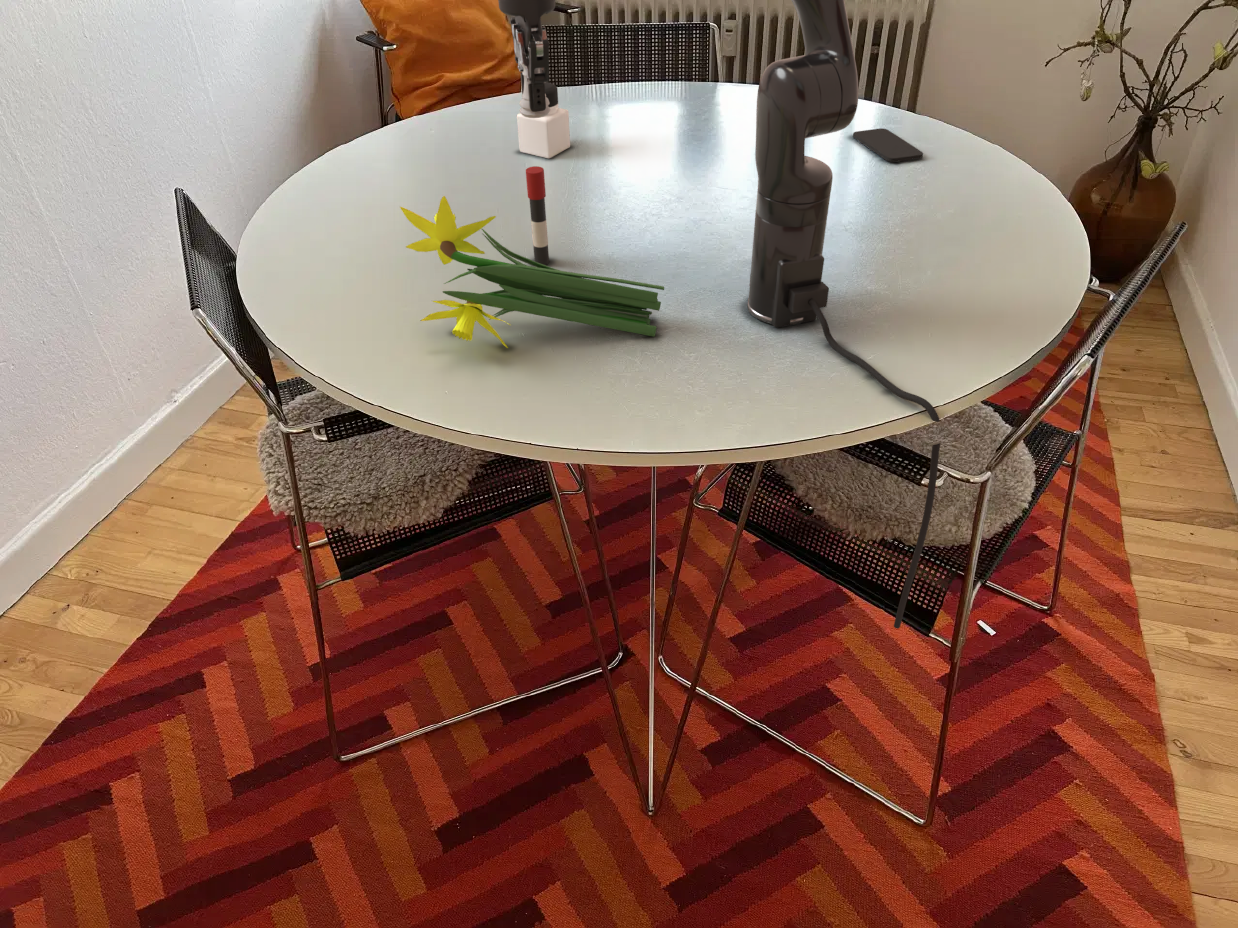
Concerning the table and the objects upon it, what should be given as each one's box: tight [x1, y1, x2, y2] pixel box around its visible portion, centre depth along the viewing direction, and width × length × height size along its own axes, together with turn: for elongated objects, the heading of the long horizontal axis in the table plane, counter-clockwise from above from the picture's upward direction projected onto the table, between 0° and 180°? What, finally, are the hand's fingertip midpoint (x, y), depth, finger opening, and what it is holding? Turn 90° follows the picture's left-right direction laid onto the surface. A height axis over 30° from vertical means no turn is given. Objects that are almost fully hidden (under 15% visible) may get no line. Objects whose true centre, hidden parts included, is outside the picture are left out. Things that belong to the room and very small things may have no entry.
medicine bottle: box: [516, 82, 571, 159], centre depth 171 cm, size 7×7×12 cm
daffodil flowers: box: [399, 195, 665, 349], centre depth 119 cm, size 17×15×35 cm
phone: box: [852, 128, 924, 163], centre depth 172 cm, size 7×1×15 cm
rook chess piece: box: [519, 56, 551, 118], centre depth 128 cm, size 4×4×8 cm
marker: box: [525, 165, 550, 266], centre depth 134 cm, size 3×3×14 cm
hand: (534, 104), depth 130 cm, fingers closed on rook chess piece, 4 cm apart
